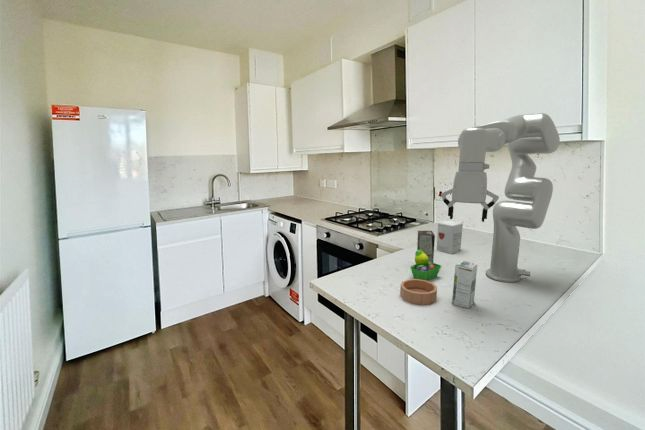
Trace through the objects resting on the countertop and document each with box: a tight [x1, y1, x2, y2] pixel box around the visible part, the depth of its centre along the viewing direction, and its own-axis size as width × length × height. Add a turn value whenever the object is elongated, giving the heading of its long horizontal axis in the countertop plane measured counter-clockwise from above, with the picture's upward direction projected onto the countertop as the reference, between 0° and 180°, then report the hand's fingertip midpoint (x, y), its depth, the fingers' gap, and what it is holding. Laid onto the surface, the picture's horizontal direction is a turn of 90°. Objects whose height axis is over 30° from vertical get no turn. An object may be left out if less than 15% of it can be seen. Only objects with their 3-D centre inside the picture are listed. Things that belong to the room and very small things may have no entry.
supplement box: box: [436, 219, 464, 255], centre depth 165 cm, size 9×9×15 cm
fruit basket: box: [410, 249, 442, 281], centre depth 131 cm, size 11×9×11 cm
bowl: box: [399, 278, 438, 306], centre depth 115 cm, size 12×12×4 cm
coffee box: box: [416, 230, 436, 263], centre depth 142 cm, size 9×6×16 cm
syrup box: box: [451, 260, 479, 309], centre depth 108 cm, size 6×6×14 cm
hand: (466, 219), depth 105 cm, fingers open, 9 cm apart
